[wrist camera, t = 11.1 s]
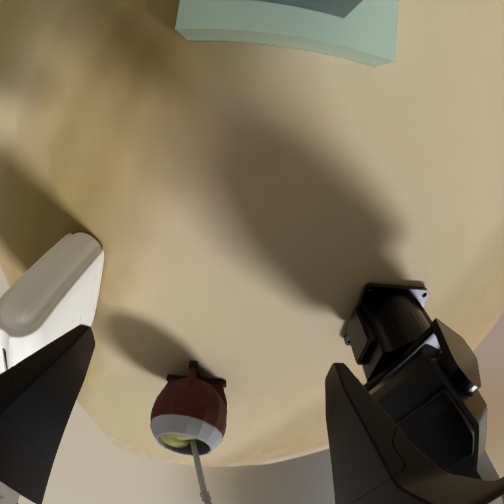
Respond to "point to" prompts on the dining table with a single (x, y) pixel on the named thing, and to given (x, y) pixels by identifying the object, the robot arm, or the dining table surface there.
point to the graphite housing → (321, 5)
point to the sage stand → (295, 27)
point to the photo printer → (50, 298)
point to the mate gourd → (191, 417)
